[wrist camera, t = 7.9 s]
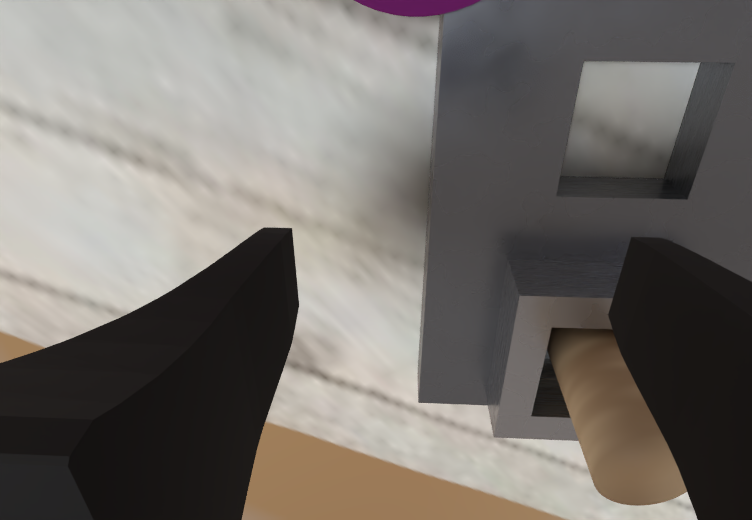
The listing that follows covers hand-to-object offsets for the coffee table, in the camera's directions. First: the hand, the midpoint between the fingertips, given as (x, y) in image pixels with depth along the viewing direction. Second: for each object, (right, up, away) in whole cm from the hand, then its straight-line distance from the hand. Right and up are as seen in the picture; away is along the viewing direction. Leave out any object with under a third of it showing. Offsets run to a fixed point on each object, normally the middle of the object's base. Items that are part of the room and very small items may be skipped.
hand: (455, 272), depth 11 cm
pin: (+7, -2, +13) cm, 15 cm away
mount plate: (+7, +2, +11) cm, 13 cm away
